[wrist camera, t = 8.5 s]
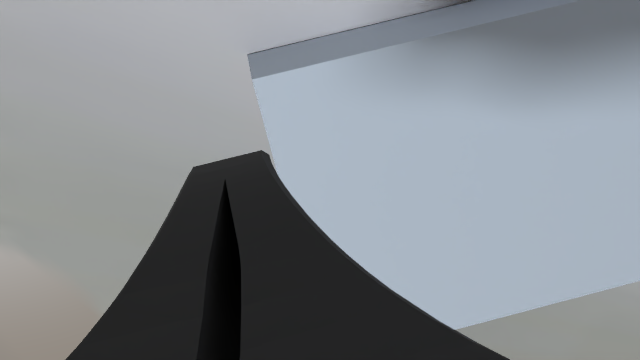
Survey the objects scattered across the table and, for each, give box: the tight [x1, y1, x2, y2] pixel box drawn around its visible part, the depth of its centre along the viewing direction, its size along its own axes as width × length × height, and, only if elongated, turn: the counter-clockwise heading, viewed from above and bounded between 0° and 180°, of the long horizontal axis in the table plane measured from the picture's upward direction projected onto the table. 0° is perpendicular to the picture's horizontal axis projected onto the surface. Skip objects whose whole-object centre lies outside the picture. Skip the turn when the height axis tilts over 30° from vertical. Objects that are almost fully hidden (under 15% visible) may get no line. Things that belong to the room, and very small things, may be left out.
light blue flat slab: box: [248, 0, 640, 330], centre depth 22 cm, size 15×14×2 cm
